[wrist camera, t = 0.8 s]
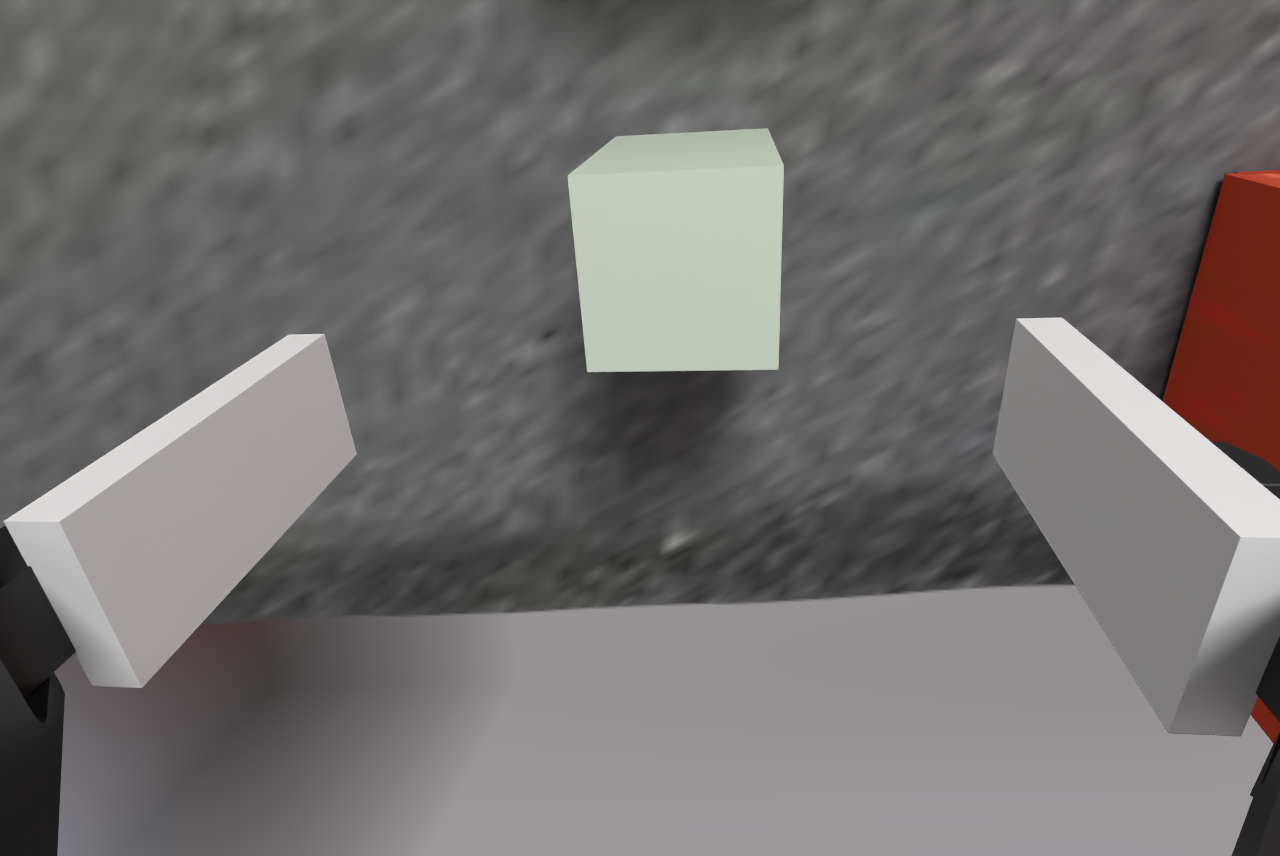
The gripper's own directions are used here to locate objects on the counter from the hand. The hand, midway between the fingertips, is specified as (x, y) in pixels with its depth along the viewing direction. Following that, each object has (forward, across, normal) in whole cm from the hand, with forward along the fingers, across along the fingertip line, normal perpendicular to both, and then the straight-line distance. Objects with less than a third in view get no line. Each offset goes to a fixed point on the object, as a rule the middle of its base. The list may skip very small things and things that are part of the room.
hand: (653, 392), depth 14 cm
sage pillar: (+18, 0, 0) cm, 19 cm away
